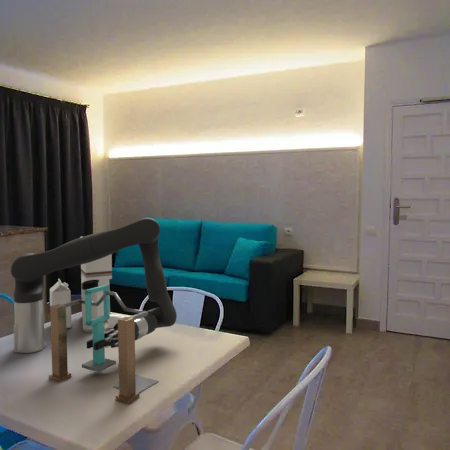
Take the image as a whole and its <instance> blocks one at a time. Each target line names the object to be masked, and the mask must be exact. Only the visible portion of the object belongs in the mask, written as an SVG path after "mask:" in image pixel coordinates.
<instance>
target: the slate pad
mask: <svg viewBox="0 0 450 450" xmlns="http://www.w3.org/2000/svg"><path fill="white" fill-rule="evenodd" d="M135 382H136V392H137V393H139V394H141V393H142V392H144V391H146V390H147V389H149V388H151V387H152V386H155V384H158V383H159V382H160V381H159V380H158V379H157V380H156V379H153V378H150V377H145V376H142V375H138V374H135ZM112 387H113V388H116V389H119V382H117V383H115V384H114V385H112Z"/></svg>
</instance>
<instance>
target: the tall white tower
mask: <svg viewBox="0 0 450 450" xmlns="http://www.w3.org/2000/svg"><path fill="white" fill-rule="evenodd" d="M81 237H82V236H80V237H79V238H81ZM112 255H113V254H111V255H108V256H106V257H104V258H101V259H98V260H95V261H92V262H89V263H85V264H82V265H80V279H81V280H80V281H81V286H80V287H81V288H82V283H83V282H85V281H89V280H99V282H98V287H99V286H103V285H109V286H110V280H112V279H113V266H112V265H113V262H112V261H113V258H112ZM102 296H103V291H100V292H99V299H100V298H101V297H102ZM110 296H111V295H109V311H110V314H112V313H111V301H110V299H111V298H110ZM103 315H104V301H102V302H101V304H100V305H99V317H100V316H103ZM104 322H108V319H107V320H104Z"/></svg>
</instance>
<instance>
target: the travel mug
mask: <svg viewBox="0 0 450 450" xmlns="http://www.w3.org/2000/svg"><path fill="white" fill-rule="evenodd" d="M98 282H99V280H89V281H85V282H83V283H82V287H81V300H84V301H85V290H87V289H91V288H95V287H98ZM98 301H99V292H96V293H92V294H91V302H96V303H97V302H98ZM91 309H92V319H94V318H97V317H99V306H93V305H91ZM81 317H82V331H83V332H84V333H92V325H90V326H86V314H85V304H82V303H81Z"/></svg>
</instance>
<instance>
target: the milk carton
mask: <svg viewBox="0 0 450 450" xmlns="http://www.w3.org/2000/svg"><path fill="white" fill-rule="evenodd" d="M57 280H58V281H57V282H56V283H55V284H54V285H53V286H51V287H50V288H49V307H50V306H53V305H57V304H64V303H68V302H71V301H72V298H71V297H72V296H71V292H72V291H71V290H70V288H69V284H68V282H67V283H66V282H65V281H64V282H62V281H61V279H60V278H58V279H57ZM72 326H73V325H72V306H69V307H66V329H68V328H72Z"/></svg>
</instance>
